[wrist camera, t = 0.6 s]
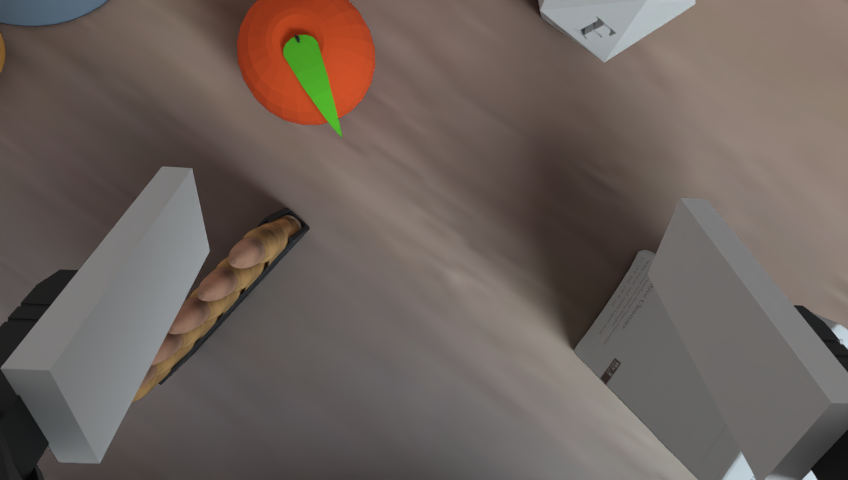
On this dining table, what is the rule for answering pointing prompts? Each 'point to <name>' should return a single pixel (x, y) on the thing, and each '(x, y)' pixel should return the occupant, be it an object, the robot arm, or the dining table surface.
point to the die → (609, 21)
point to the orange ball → (2, 52)
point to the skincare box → (664, 377)
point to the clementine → (306, 58)
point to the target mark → (45, 11)
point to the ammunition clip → (223, 293)
